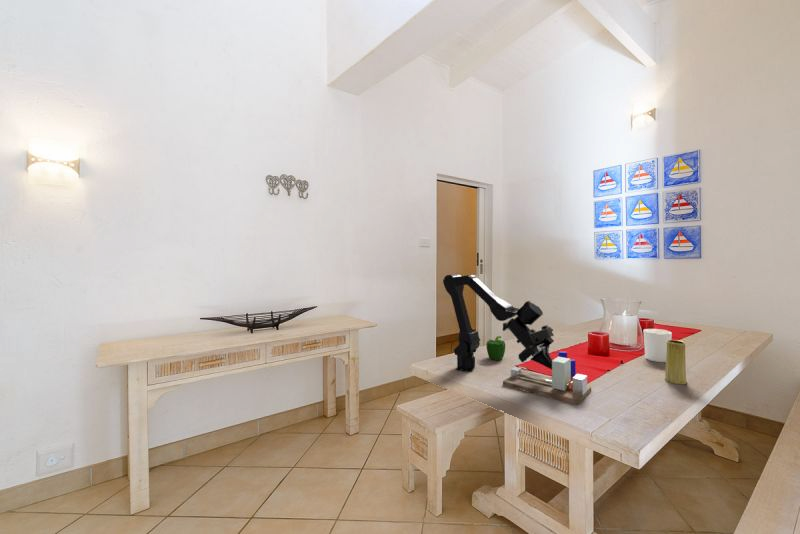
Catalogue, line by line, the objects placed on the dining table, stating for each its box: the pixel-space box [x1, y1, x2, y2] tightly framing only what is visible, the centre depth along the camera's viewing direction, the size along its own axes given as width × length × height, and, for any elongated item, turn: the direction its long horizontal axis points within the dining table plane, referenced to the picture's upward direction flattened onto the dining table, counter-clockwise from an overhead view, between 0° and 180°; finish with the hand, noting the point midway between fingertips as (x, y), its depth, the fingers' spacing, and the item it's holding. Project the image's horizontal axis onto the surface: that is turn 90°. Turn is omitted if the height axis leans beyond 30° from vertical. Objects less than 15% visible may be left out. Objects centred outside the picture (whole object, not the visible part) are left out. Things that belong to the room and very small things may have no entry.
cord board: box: [502, 370, 592, 406], centre depth 121 cm, size 25×14×2 cm, turn 47°
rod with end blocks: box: [510, 366, 588, 396], centre depth 121 cm, size 24×5×6 cm, turn 47°
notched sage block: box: [551, 356, 572, 391], centre depth 117 cm, size 4×6×9 cm, turn 137°
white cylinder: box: [642, 328, 673, 363], centre depth 148 cm, size 10×10×12 cm
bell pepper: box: [486, 335, 506, 361], centre depth 155 cm, size 8×8×10 cm
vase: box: [664, 339, 687, 385], centre depth 123 cm, size 6×6×14 cm
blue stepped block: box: [557, 351, 577, 377], centre depth 137 cm, size 12×4×6 cm, turn 170°
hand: (554, 369), depth 119 cm, fingers closed, pressing on notched sage block
